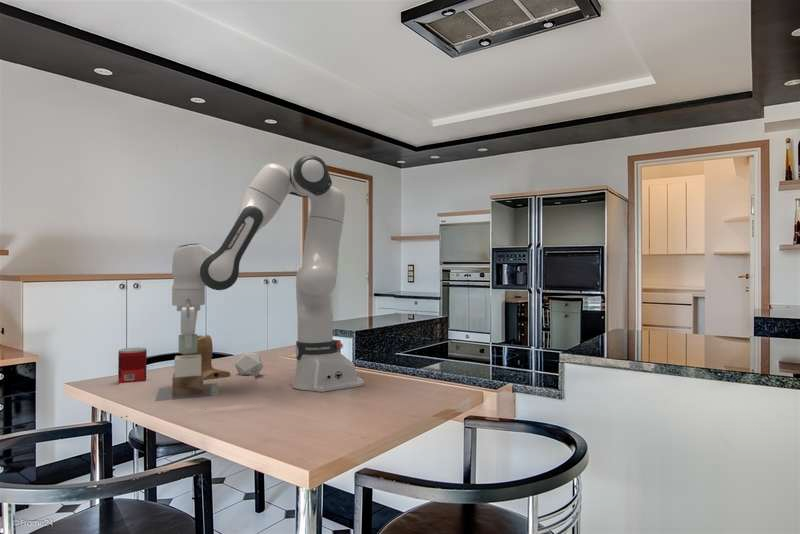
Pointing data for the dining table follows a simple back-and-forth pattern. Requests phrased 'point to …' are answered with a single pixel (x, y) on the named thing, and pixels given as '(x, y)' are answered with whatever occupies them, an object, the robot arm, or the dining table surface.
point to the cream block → (187, 366)
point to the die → (249, 364)
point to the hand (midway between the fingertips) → (188, 346)
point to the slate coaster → (167, 395)
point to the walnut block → (187, 385)
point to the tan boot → (207, 358)
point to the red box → (132, 365)
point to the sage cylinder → (182, 344)
